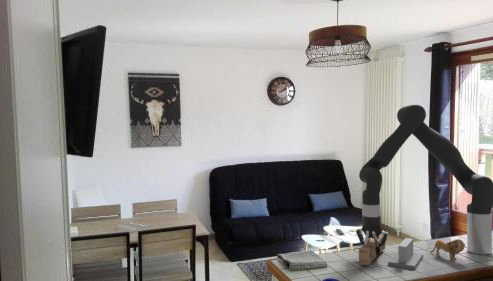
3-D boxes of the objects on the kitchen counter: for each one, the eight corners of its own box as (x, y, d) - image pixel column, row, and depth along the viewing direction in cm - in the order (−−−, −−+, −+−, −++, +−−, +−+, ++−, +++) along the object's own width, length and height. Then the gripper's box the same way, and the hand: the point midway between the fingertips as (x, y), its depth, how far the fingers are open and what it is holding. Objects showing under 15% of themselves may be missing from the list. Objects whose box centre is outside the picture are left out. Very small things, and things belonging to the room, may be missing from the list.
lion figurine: (467, 261, 160) (467, 239, 160) (460, 264, 157) (460, 241, 157) (433, 251, 172) (433, 231, 172) (426, 254, 170) (426, 233, 169)
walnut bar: (377, 247, 178) (376, 234, 178) (385, 248, 176) (384, 234, 176) (359, 264, 159) (358, 249, 158) (367, 265, 157) (367, 250, 156)
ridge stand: (398, 253, 172) (398, 235, 171) (423, 257, 166) (422, 238, 166) (388, 265, 159) (388, 245, 158) (414, 269, 153) (414, 249, 153)
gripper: (391, 213, 165) (392, 254, 166) (358, 210, 174) (359, 249, 174) (386, 217, 159) (387, 259, 160) (352, 214, 167) (353, 254, 168)
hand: (372, 254), depth 167 cm, fingers closed on walnut bar, 3 cm apart
